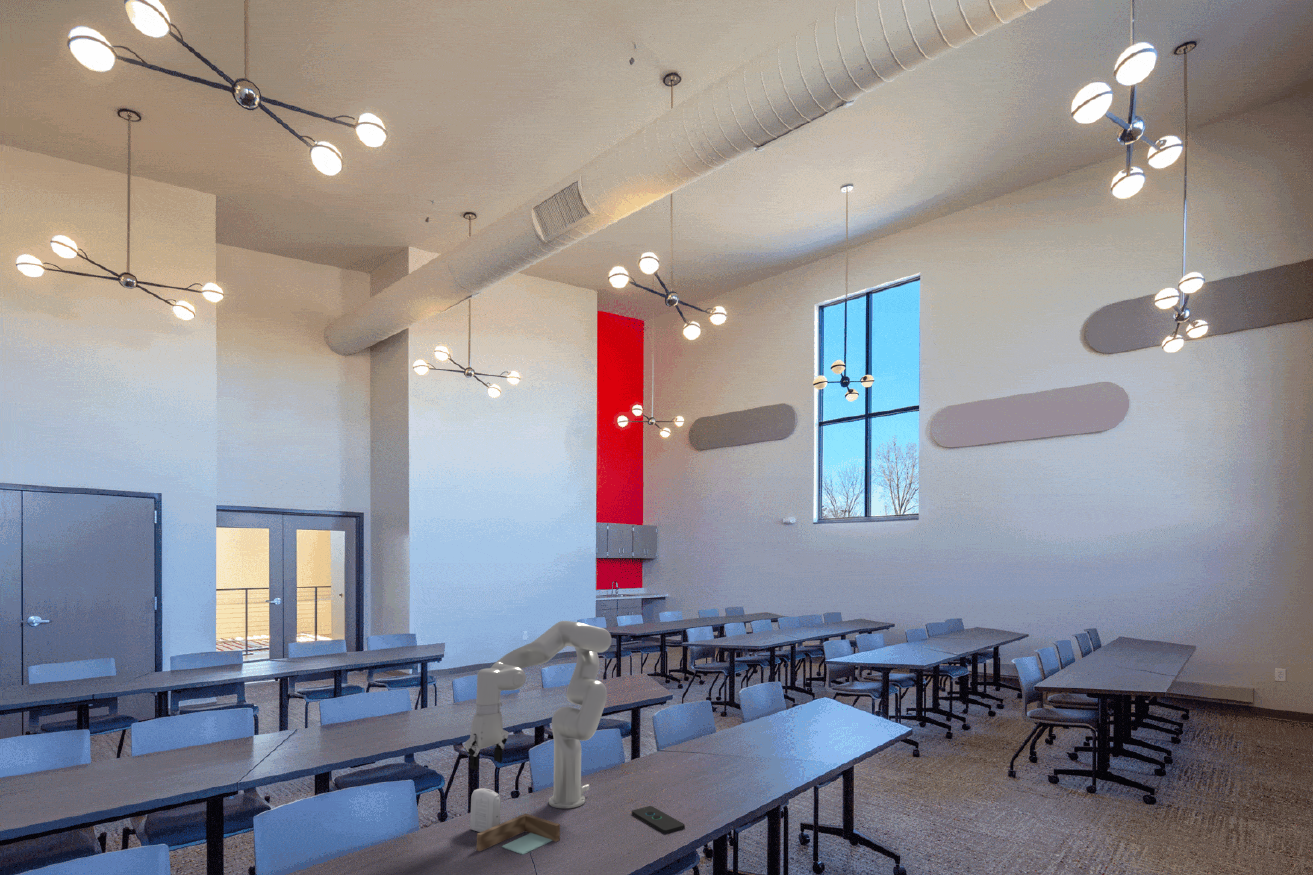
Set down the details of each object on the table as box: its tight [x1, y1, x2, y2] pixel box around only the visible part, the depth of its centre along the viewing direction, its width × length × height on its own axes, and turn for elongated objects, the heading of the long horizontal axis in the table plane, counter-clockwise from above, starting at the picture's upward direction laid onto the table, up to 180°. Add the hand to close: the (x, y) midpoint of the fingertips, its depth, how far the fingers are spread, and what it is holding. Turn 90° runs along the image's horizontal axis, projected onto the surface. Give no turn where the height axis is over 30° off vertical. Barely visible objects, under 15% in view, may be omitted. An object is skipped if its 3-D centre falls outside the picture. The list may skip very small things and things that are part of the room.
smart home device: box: [631, 805, 685, 835], centre depth 231 cm, size 8×2×20 cm
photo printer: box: [469, 787, 502, 833], centre depth 225 cm, size 10×4×12 cm, turn 61°
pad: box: [501, 833, 553, 856], centre depth 214 cm, size 12×9×1 cm
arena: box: [476, 813, 561, 852], centre depth 214 cm, size 20×15×4 cm
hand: (486, 764), depth 227 cm, fingers open, 9 cm apart
